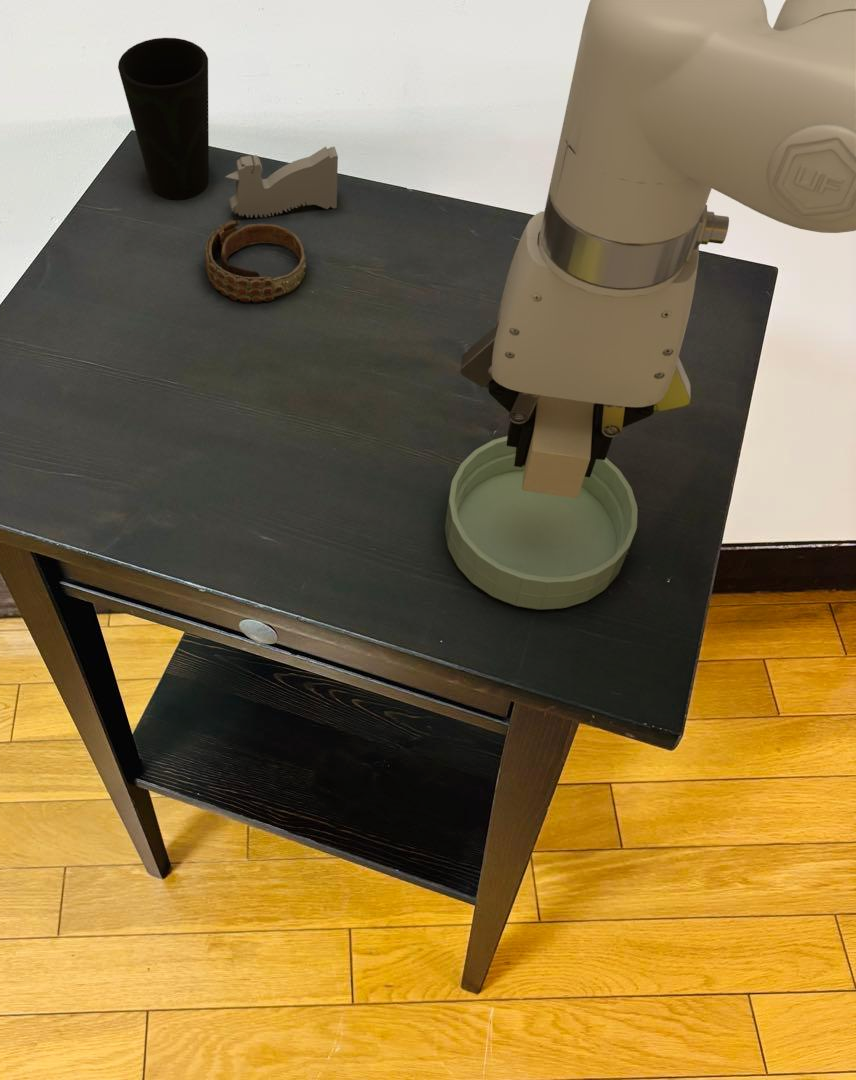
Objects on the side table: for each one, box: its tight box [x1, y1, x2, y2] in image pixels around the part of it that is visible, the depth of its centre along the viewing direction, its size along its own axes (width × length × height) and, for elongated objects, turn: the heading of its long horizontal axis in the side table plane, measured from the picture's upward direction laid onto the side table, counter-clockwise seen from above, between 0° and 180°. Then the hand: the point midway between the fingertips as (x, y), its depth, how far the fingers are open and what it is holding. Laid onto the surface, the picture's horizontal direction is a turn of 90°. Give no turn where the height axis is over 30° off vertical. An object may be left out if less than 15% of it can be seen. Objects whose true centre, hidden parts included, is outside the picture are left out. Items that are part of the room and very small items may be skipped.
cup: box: [117, 37, 210, 201], centre depth 95 cm, size 8×8×12 cm
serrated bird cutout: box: [224, 146, 339, 219], centre depth 95 cm, size 6×1×10 cm
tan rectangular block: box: [522, 395, 595, 498], centre depth 67 cm, size 6×4×4 cm, turn 169°
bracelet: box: [204, 219, 307, 304], centre depth 92 cm, size 9×9×3 cm
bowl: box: [444, 435, 639, 611], centre depth 75 cm, size 13×13×4 cm
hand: (553, 453), depth 69 cm, fingers closed on tan rectangular block, 3 cm apart
